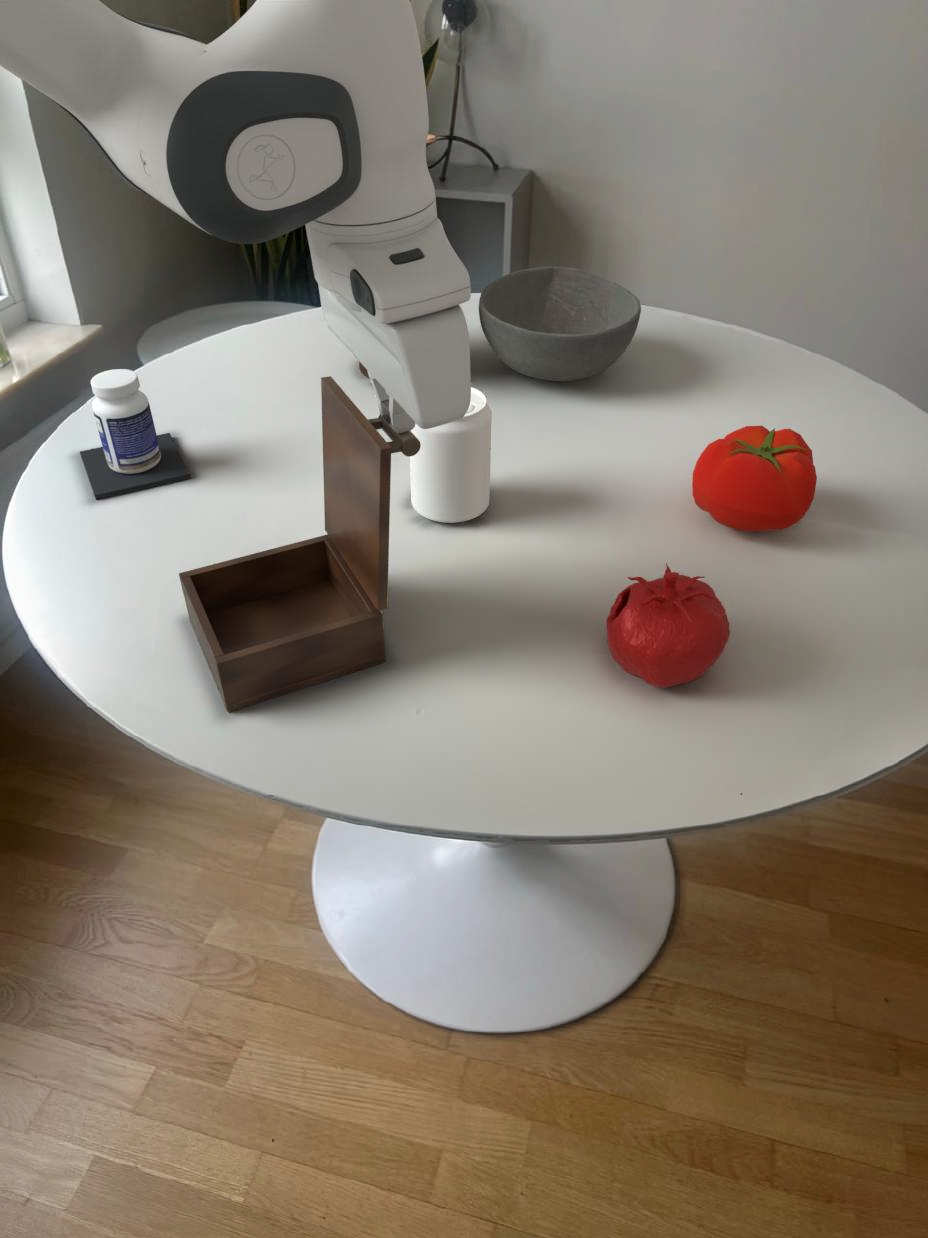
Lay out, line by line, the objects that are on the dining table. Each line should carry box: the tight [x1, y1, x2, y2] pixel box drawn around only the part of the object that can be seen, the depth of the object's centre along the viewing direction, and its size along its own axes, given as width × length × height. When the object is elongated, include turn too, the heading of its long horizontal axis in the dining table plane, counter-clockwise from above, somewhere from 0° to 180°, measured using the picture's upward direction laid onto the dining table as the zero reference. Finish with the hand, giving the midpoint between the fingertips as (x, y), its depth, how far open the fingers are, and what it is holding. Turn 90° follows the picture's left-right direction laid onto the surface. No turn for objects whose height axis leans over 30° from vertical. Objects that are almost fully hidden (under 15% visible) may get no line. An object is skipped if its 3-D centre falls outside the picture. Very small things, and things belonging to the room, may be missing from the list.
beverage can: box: [409, 386, 493, 524], centre depth 93 cm, size 8×8×12 cm
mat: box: [79, 432, 192, 501], centre depth 102 cm, size 10×10×1 cm
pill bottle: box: [90, 368, 161, 474], centre depth 99 cm, size 6×6×10 cm
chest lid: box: [320, 375, 421, 611], centre depth 76 cm, size 14×13×5 cm
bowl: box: [478, 266, 642, 382], centre depth 118 cm, size 20×20×10 cm
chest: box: [178, 533, 386, 713], centre depth 79 cm, size 14×13×5 cm
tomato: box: [691, 425, 818, 532], centre depth 93 cm, size 13×12×8 cm
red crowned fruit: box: [605, 562, 731, 688], centre depth 76 cm, size 10×10×9 cm
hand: (398, 423), depth 73 cm, fingers closed, pressing on chest lid
